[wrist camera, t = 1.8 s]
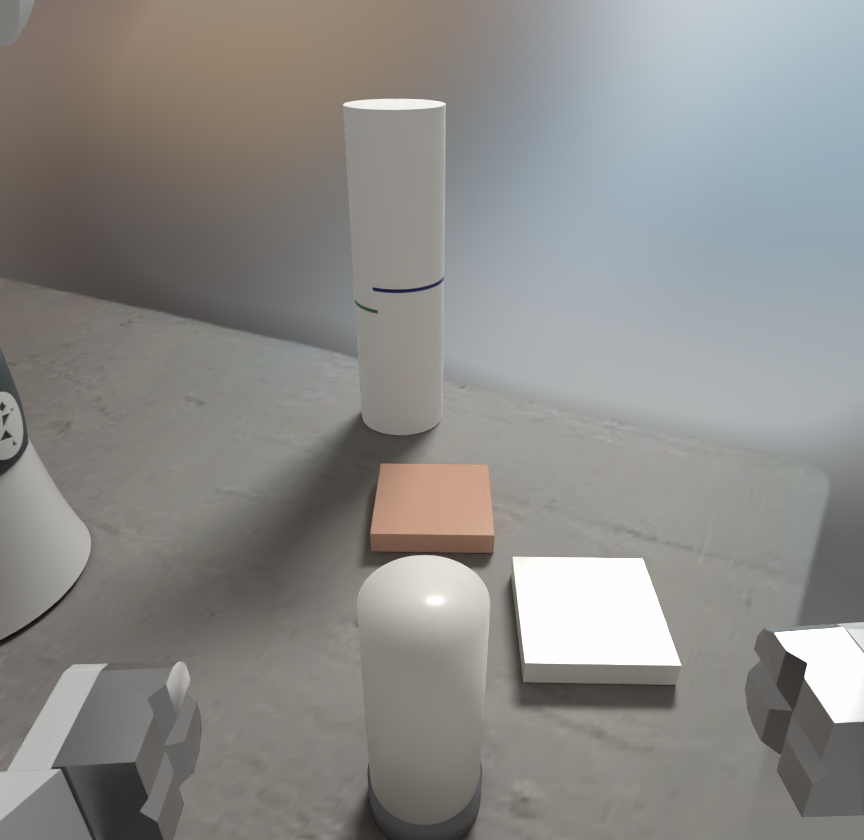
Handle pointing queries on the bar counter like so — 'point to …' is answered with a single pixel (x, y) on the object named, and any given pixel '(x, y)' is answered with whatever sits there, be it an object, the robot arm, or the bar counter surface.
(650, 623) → the stone pad
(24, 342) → the bar counter surface
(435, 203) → the cylindrical container
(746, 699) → the robot arm
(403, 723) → the white rounded-top cylinder
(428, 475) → the terracotta pad
